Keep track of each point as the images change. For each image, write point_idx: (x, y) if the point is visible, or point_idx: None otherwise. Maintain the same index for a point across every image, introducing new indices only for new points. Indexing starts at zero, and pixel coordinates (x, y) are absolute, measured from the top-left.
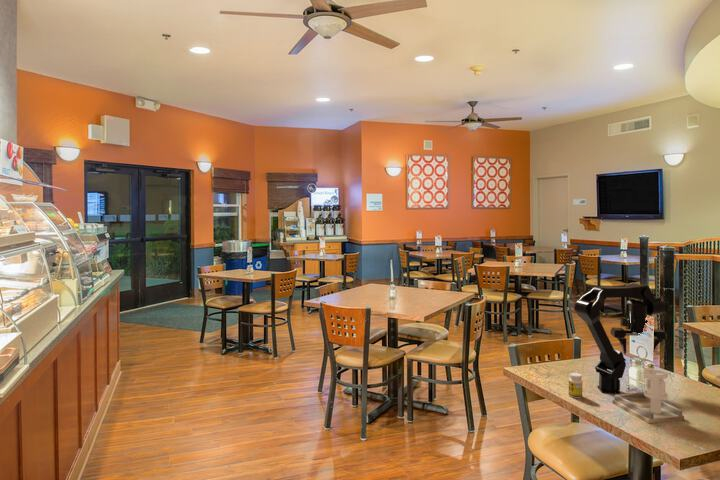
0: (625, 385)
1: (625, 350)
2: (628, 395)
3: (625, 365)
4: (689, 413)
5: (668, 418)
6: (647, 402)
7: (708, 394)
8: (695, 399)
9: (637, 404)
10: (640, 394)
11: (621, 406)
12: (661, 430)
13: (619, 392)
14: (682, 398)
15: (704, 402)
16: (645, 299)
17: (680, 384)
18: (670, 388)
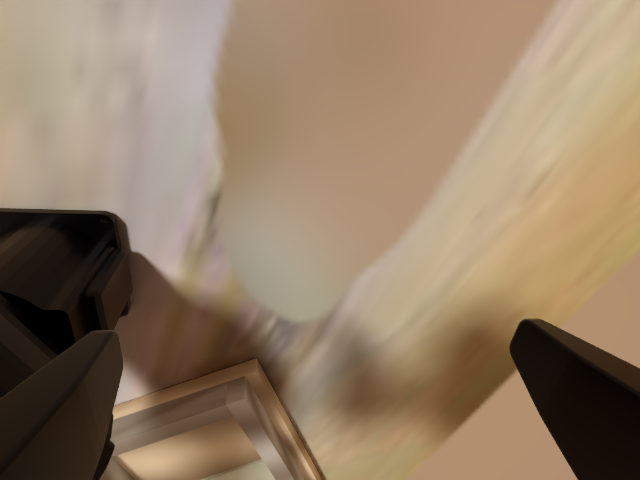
0: (215, 143)
1: (74, 477)
2: (138, 446)
3: (105, 459)
4: (375, 439)
5: None
6: (235, 429)
7: (629, 238)
8: (509, 310)
9: (177, 456)
10: (213, 420)
11: None
12: None
13: (124, 314)
14: (457, 308)
15: None
16: None
17: (627, 80)
18: (502, 170)
